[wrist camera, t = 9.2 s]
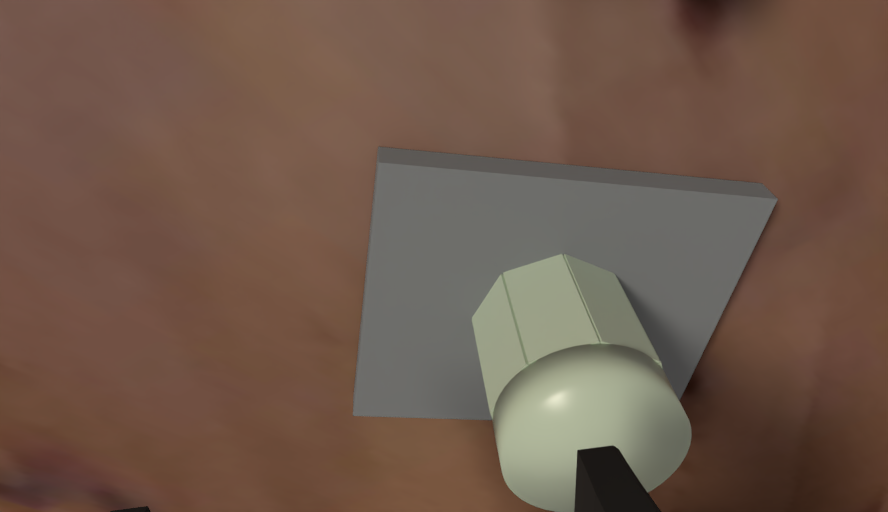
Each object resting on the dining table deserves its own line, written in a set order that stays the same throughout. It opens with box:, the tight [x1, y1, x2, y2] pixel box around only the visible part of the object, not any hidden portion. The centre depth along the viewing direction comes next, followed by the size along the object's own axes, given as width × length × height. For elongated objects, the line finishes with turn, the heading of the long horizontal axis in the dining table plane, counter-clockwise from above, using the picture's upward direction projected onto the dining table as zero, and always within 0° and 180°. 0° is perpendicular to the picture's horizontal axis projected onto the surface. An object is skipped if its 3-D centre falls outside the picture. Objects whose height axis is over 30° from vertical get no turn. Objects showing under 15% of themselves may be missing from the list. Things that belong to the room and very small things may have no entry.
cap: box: [472, 254, 692, 512], centre depth 19 cm, size 5×5×6 cm
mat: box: [353, 147, 778, 420], centre depth 22 cm, size 12×10×1 cm
